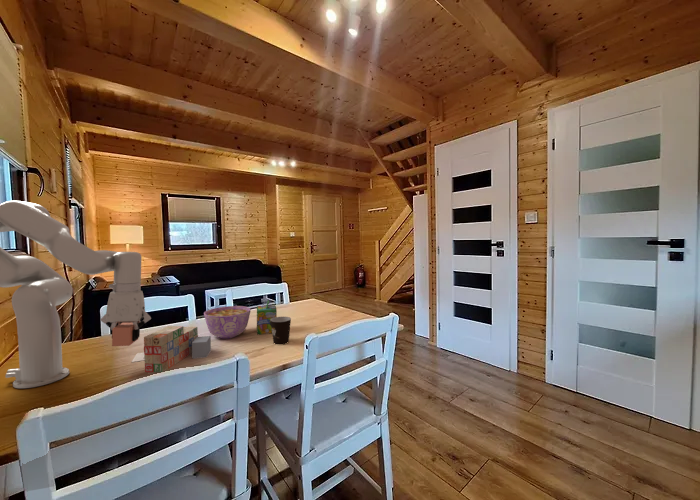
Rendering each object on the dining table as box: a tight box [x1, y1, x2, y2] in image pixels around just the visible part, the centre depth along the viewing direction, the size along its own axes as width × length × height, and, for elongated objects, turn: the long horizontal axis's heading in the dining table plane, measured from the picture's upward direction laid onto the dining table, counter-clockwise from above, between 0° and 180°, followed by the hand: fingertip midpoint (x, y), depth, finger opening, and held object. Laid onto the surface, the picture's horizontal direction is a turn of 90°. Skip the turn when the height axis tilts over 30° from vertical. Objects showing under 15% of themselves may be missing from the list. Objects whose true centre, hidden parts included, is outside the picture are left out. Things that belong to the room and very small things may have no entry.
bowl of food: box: [203, 305, 252, 339], centre depth 139 cm, size 20×20×12 cm
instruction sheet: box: [131, 351, 145, 363], centre depth 116 cm, size 12×9×1 cm
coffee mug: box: [270, 316, 292, 345], centre depth 131 cm, size 12×9×10 cm
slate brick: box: [191, 335, 212, 359], centre depth 117 cm, size 5×7×6 cm
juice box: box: [256, 299, 278, 335], centre depth 145 cm, size 9×9×15 cm
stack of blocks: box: [143, 325, 199, 373], centre depth 112 cm, size 21×6×12 cm, turn 176°
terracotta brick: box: [111, 322, 139, 347], centre depth 104 cm, size 5×7×6 cm
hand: (125, 339), depth 104 cm, fingers closed on terracotta brick, 5 cm apart
